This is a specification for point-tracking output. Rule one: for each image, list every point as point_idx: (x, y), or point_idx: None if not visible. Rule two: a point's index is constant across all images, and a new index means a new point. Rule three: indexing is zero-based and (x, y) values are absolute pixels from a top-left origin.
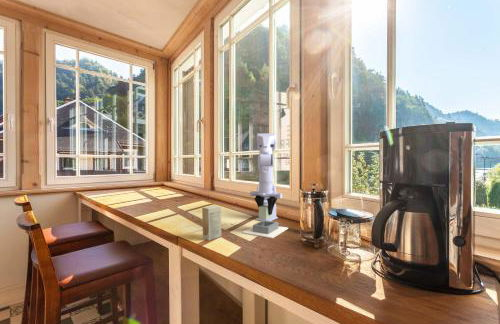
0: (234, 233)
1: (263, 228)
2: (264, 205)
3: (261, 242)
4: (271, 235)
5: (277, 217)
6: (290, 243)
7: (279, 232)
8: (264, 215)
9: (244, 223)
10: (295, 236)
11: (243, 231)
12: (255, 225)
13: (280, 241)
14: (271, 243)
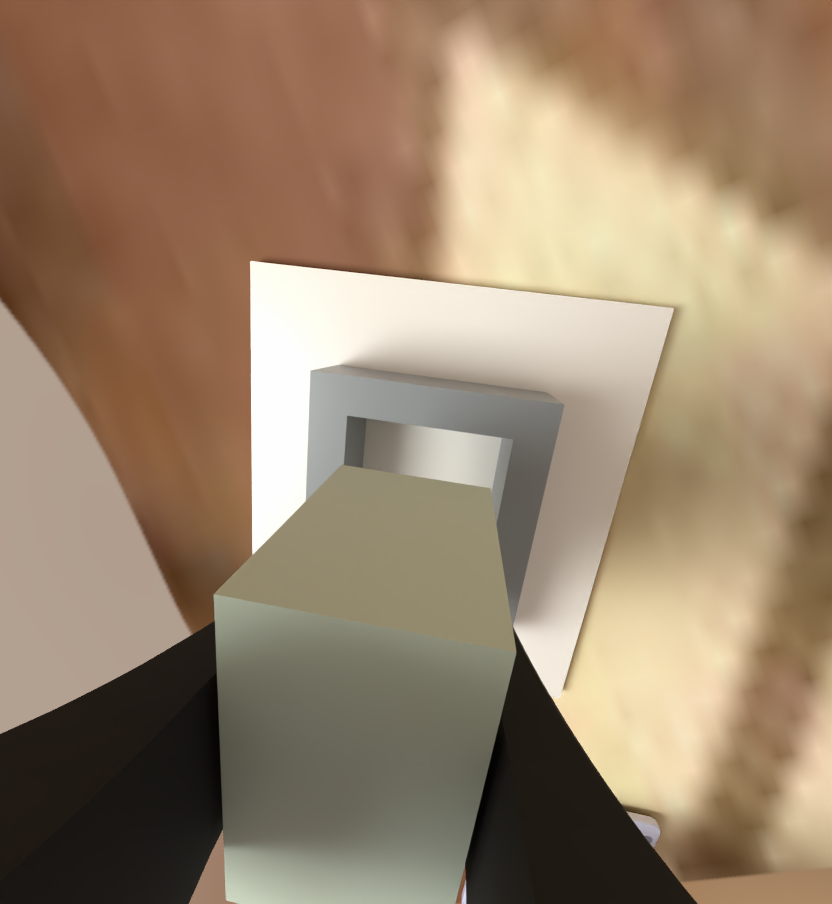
0: (771, 251)
1: (389, 378)
2: (416, 865)
3: (303, 51)
4: (288, 328)
5: (462, 897)
6: (42, 187)
7: (260, 463)
8: (356, 495)
9: (754, 682)
10: (105, 427)
11: (663, 342)
12: (518, 406)
13: (146, 203)
14: (192, 78)
